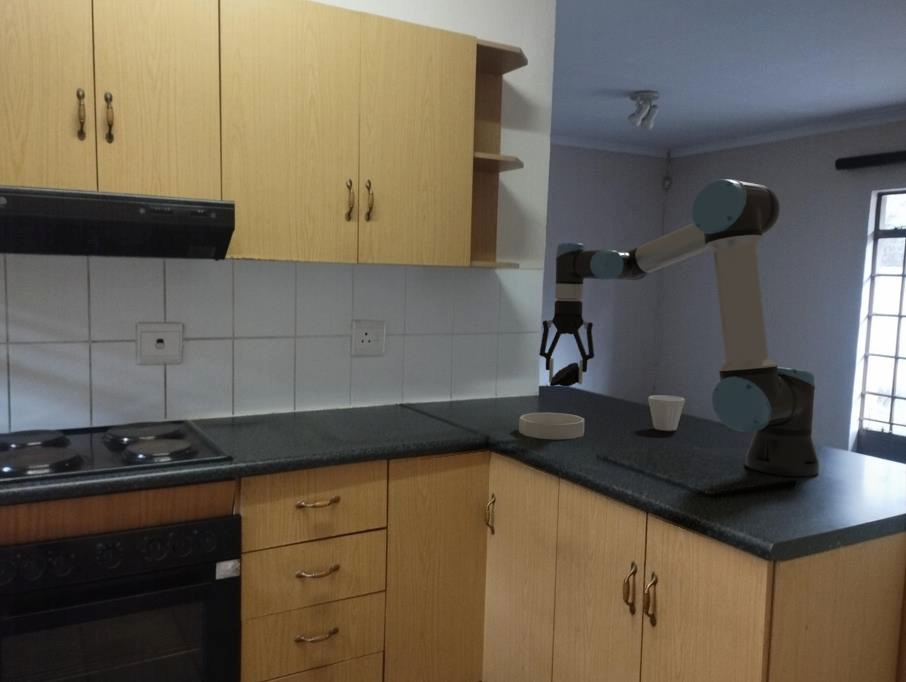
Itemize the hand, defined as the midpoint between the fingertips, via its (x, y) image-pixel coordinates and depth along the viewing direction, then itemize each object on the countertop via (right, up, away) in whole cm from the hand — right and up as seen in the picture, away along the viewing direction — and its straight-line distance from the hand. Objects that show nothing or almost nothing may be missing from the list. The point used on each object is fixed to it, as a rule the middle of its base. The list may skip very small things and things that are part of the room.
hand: (565, 382), depth 197 cm
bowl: (-4, -14, +2) cm, 15 cm away
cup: (+30, -14, +8) cm, 34 cm away
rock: (0, -1, -1) cm, 2 cm away
